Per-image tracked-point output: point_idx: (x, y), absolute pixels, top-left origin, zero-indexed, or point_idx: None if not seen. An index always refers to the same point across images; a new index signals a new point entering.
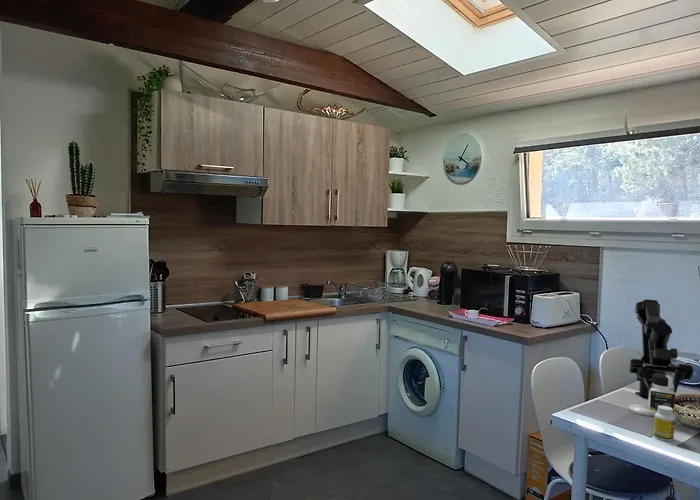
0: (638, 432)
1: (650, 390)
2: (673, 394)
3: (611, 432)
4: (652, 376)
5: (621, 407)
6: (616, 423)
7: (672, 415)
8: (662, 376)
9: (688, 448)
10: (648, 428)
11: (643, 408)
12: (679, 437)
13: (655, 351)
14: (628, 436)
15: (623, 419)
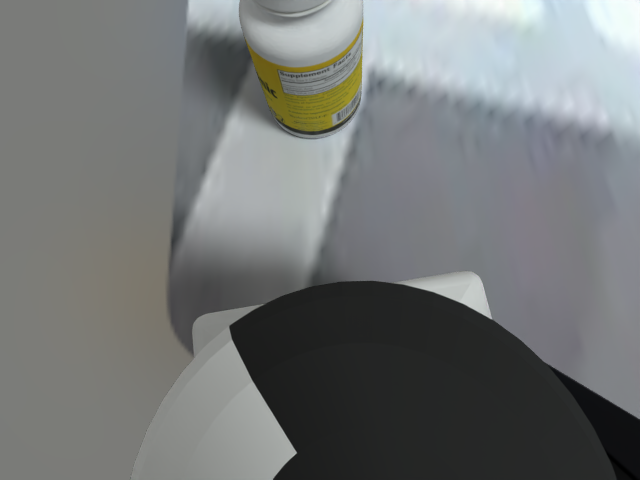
0: (434, 98)
1: (484, 298)
2: (216, 312)
3: (546, 10)
4: (595, 450)
5: None
6: (570, 160)
7: (249, 4)
8: (354, 335)
9: (208, 46)
10: (399, 199)
11: None
12: (243, 166)
13: None
14: (463, 13)
15: (560, 266)
